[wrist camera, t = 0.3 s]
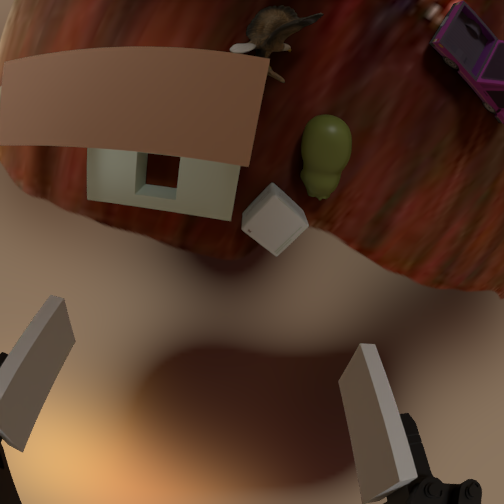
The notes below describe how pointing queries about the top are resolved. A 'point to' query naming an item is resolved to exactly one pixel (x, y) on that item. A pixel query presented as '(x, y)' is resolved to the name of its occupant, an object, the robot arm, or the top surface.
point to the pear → (324, 154)
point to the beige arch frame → (136, 101)
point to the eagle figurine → (273, 32)
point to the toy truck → (473, 55)
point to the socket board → (159, 197)
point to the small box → (274, 220)
